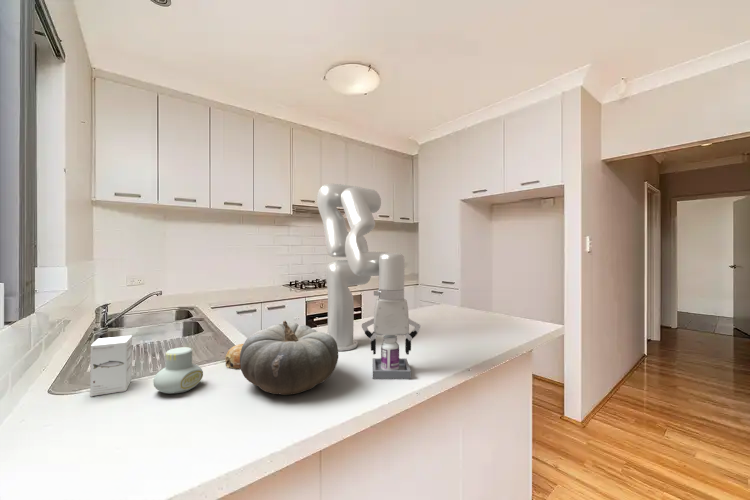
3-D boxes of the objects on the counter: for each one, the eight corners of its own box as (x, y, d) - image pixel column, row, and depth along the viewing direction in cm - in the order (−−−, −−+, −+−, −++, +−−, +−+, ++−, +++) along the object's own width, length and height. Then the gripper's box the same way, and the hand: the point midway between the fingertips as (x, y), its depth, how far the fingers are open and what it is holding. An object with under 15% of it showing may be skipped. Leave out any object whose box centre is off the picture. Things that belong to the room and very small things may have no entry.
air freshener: (172, 401, 79) (172, 358, 79) (146, 396, 81) (146, 355, 81) (208, 382, 89) (208, 345, 89) (184, 379, 92) (184, 342, 91)
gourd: (281, 352, 107) (285, 300, 104) (350, 376, 98) (357, 321, 95) (218, 391, 84) (221, 326, 81) (301, 427, 75) (308, 357, 72)
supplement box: (89, 397, 80) (88, 345, 80) (97, 386, 86) (97, 337, 86) (126, 391, 83) (126, 341, 83) (132, 380, 90) (132, 334, 90)
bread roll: (222, 376, 103) (213, 356, 100) (244, 353, 111) (237, 334, 108) (247, 381, 99) (239, 361, 96) (269, 357, 108) (261, 337, 104)
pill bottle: (399, 366, 100) (399, 334, 100) (399, 372, 95) (399, 339, 95) (381, 365, 101) (381, 333, 101) (380, 371, 96) (380, 338, 95)
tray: (372, 379, 92) (372, 371, 92) (372, 365, 103) (372, 358, 103) (410, 379, 93) (410, 371, 93) (406, 365, 103) (406, 358, 103)
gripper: (361, 296, 94) (361, 357, 94) (422, 297, 94) (422, 357, 94) (362, 293, 101) (361, 348, 101) (418, 293, 101) (418, 349, 102)
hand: (390, 353), depth 98 cm, fingers open, 9 cm apart
